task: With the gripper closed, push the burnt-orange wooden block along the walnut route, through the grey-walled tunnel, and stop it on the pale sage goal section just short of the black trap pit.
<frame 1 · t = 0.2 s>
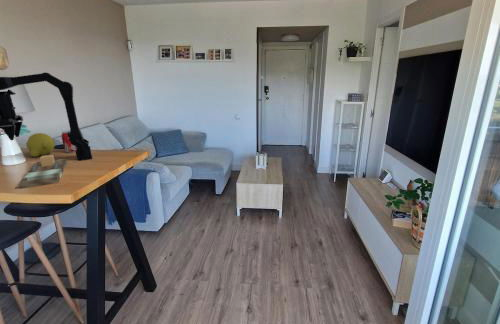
hand: (14, 138, 131), 14 cm above the table, fingers open, 9 cm apart
block: (48, 164, 129), point 2 cm above the table, touching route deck
soda can: (72, 152, 162), on the table
sculpture: (43, 155, 156), on the table
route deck: (47, 174, 123), on the table
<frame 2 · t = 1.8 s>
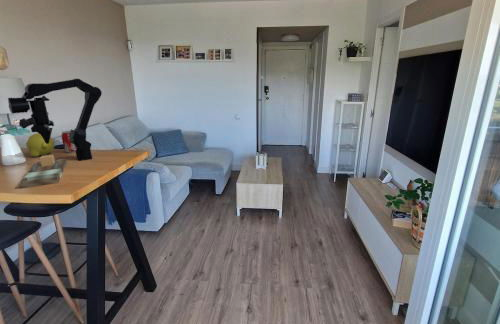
hand: (47, 143, 133), 11 cm above the table, fingers closed
nothing on the table moved.
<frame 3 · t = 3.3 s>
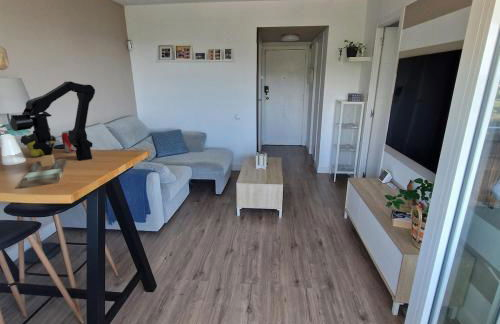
hand: (49, 159, 131), 4 cm above the table, fingers closed
block: (48, 164, 128), point 2 cm above the table, touching gripper, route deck
everything else where it was.
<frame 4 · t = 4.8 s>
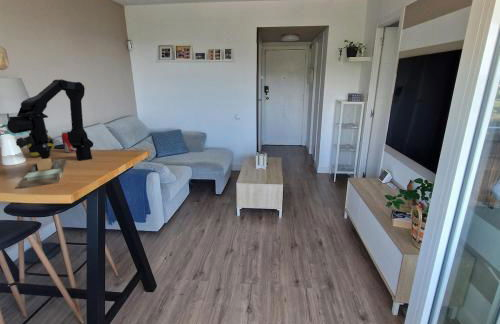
hand: (46, 162, 125), 4 cm above the table, fingers closed
block: (45, 168, 123), point 3 cm above the table, touching gripper
everything else where it was.
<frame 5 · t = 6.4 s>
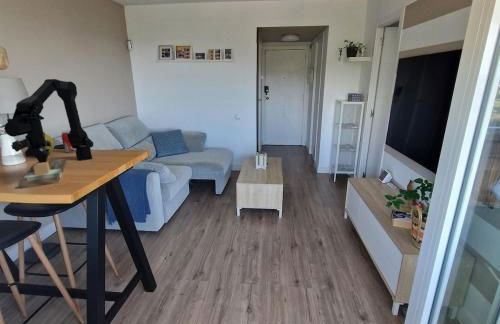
hand: (43, 166, 119), 4 cm above the table, fingers closed
block: (43, 172, 117), point 2 cm above the table, touching gripper, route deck
everything else where it was.
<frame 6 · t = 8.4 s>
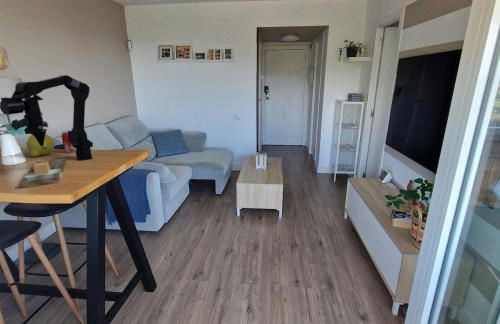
hand: (41, 145, 126), 12 cm above the table, fingers closed
block: (43, 172, 117), point 2 cm above the table, touching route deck
everything else where it was.
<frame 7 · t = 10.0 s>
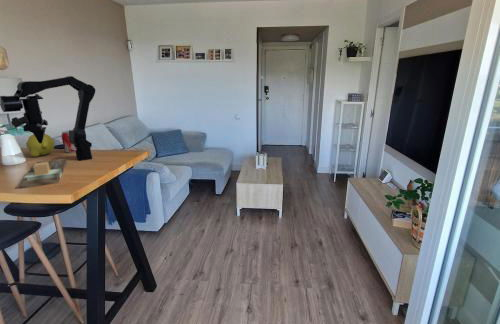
hand: (40, 143, 130), 12 cm above the table, fingers closed
nothing on the table moved.
at the end: block 0.3 cm from the target spot, point 2.5 cm above the table; block tilted 0° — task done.
